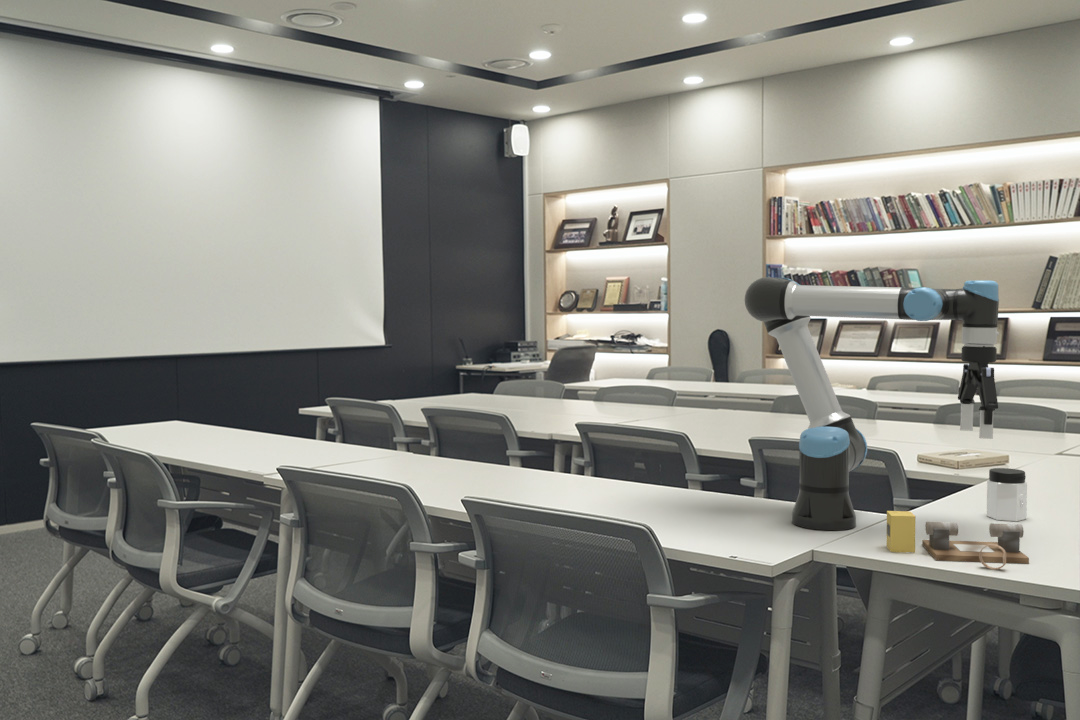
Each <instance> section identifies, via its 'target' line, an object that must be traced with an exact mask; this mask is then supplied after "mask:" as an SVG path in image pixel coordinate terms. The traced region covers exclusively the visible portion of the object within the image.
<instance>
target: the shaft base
mask: <svg viewBox="0 0 1080 720" xmlns="http://www.w3.org/2000/svg"><path fill="white" fill-rule="evenodd" d="M988 526H989V527H988V530H989V531H988V533H989V535H990V538H997V541H978V540H977V541H973V540H972V541H971V540H969V541H968V540H950V536H951V537H952V536H954V537H957V536H958V535H959V525H958V523H957V522H951V521H950V522H946V521H945V522H944V521H926V522H925V534H926V535H927V536H929V537H928V538H929V539H922V540H921V542H922V544H921V545H922V547H923V548H924V549H925V550H926V551H927V552H928V554H930V556H932V557H933V558H934V559H935V560H936V561H943V562H945V561H946V562H968V563H969V562H975V563H981V561H980V558H979V554H980V551H981V549H982V548H983V547H984V546H986V545H988V544H996V545H998V546H1001V547H1002V548H1003V549H1004V550H1005V552H1006V564H1030V558H1029V557H1028V556H1027V554H1024V553H1023V552H1022V551H1021V550H1020V547H1021V546H1020V543H1021V542H1020V541H1021V539H1022V538H1023V537H1024V527H1023V525H1022V524H1018V523H1017V524H1016V523H1012V524H1011V523H989V525H988ZM1020 538H1021V539H1020ZM982 559H983V561H984V563H997V564H998V563H1003V551H1002V550H1001V549H1000V548H998V547H996V546H987V547H985V548H984V549H983V550H982Z"/></svg>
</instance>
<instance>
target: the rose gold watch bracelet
mask: <svg viewBox="0 0 1080 720" xmlns="http://www.w3.org/2000/svg"><path fill="white" fill-rule="evenodd" d="M987 546H996V547H998V548H1000V549H1001V550H1002V551H1003V564H1002V565H1000V566H998V567H992V566H989V565H988V564H986V562H984V561H983V559H982V550H983V549H984V548H985V547H987ZM979 558H980V561H981V562H980V563H981V565H983V566H984V567H985V568H987V569H989V570H992V571H993V570H994V571H995V570H1000V569H1002V568H1003V567H1004V566H1005V565H1006V564H1007V563H1006V552H1005V550H1004V549H1003V548H1002V547H1001V546H998V545H996V544H988V545H986V546H984V547H983V548H982V549H981V551H980V554H979Z"/></svg>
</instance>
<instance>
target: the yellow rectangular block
mask: <svg viewBox="0 0 1080 720" xmlns="http://www.w3.org/2000/svg"><path fill="white" fill-rule="evenodd" d="M886 548H887V549H888V550H889V551H890V552H891V553H906V552H913V553H912V554H915V553H916V515H914V514H913V512H912V511H910V510H909V511H908V510H905V511H904V510H902V511H901V510H898V511H897V510H886Z"/></svg>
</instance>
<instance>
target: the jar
mask: <svg viewBox="0 0 1080 720" xmlns="http://www.w3.org/2000/svg"><path fill="white" fill-rule="evenodd" d="M988 473H989V475H988V479H987V480H986V516H987V517H989V518H991V519H993V520H995V521H1004V522H1015V523H1017V522H1020V521H1024V520H1027V515H1028V514H1027V510H1028V509H1027V508H1028V507H1027V503H1028V499H1027V498H1028V482H1026V476H1027V475H1026V472H1025V470H1021V469H1017V468H1007V467H1006V468H1005V467H997V468H990V469H989V471H988Z"/></svg>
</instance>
